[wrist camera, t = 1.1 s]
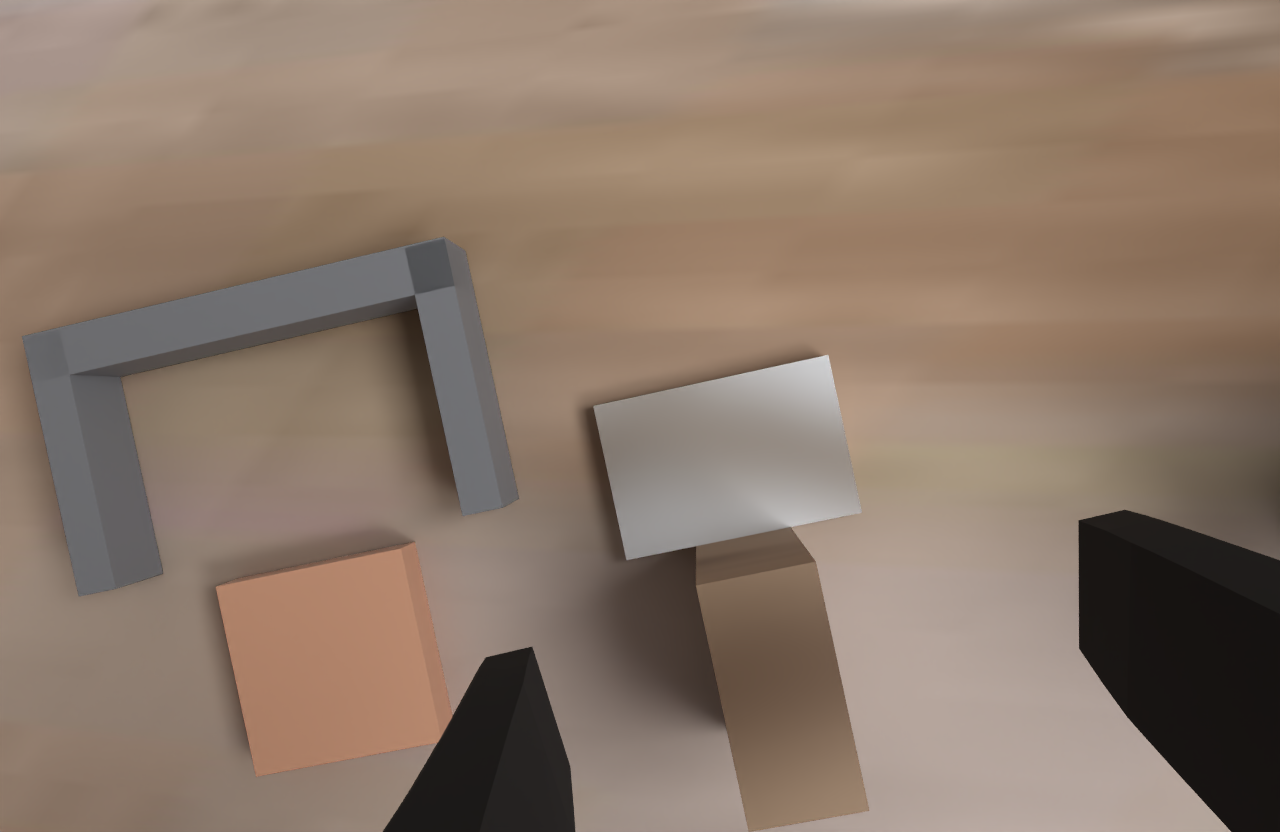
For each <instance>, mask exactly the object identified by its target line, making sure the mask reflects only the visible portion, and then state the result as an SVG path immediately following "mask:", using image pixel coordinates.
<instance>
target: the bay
mask: <svg viewBox="0 0 1280 832" xmlns="http://www.w3.org/2000/svg"><path fill="white" fill-rule="evenodd" d="M414 309H418V312H419V317H420V321H421V326H422V330H423V335H424V340H425V344H426V349H427V353H428V358H429V363H430V367H431V372H432V377H433V381H434V386H435V390H436V395H437V400H438V404H439V409H440V414H441V418H442V423H443V427H444V432H445V437H446V441H447V446H448V451H449V455H450V460H451V464H452V469H453V474H454V478H455V483H456V487H457V492H458V497H459V501H460V506H461V511H462V515H463V516H465V515H470V514H475V513H480V512H484V511H489V510H494V509H499V508H503V507H505V506H507V505H508V504H510V503H512V502H514V501H516V500H518V499H519V497H518V492H517V487H516V483H515V478H514V473H513V469H512V464H511V460H510V455H509V450H508V446H507V441H506V436H505V432H504V427H503V423H502V418H501V413H500V409H499V404H498V399H497V395H496V390H495V386H494V381H493V376H492V372H491V367H490V362H489V358H488V353H487V349H486V344H485V339H484V335H483V330H482V325H481V321H480V316H479V312H478V307H477V302H476V298H475V293H474V288H473V284H472V279H471V275H470V270H469V265H468V261H467V256H466V251H465V250H464V249H462V248H461V247H459V246H457V245H456V244H454V243H453V242H451V241H450V240H448V239H447V238H445V237H441V238H437V239H433V240H428V241H424V242H420V243H416V244H411V245H407V246H403V247H399V248H394V249H390V250H386V251H382V252H377V253H373V254H369V255H365V256H360V257H356V258H352V259H348V260H343V261H339V262H335V263H331V264H327V265H322V266H318V267H314V268H310V269H305V270H301V271H297V272H293V273H288V274H284V275H280V276H276V277H271V278H267V279H263V280H259V281H254V282H250V283H246V284H242V285H237V286H233V287H229V288H225V289H221V290H216V291H212V292H208V293H204V294H199V295H195V296H191V297H187V298H182V299H178V300H174V301H170V302H165V303H161V304H157V305H153V306H148V307H144V308H140V309H136V310H131V311H127V312H123V313H119V314H115V315H110V316H106V317H102V318H98V319H93V320H89V321H85V322H81V323H76V324H72V325H68V326H64V327H59V328H55V329H51V330H47V331H42V332H38V333H34V334H30V335H25V336H22V338H23V343H24V348H25V352H26V357H27V361H28V366H29V371H30V375H31V380H32V384H33V389H34V394H35V398H36V403H37V407H38V412H39V416H40V421H41V426H42V430H43V435H44V439H45V444H46V449H47V453H48V458H49V462H50V467H51V472H52V476H53V481H54V485H55V490H56V494H57V499H58V504H59V508H60V513H61V517H62V522H63V527H64V531H65V536H66V540H67V545H68V550H69V554H70V559H71V563H72V568H73V572H74V577H75V582H76V586H77V591H78V595H79V596H84V595H88V594H93V593H98V592H103V591H108V590H112V589H117V588H120V587H123V586H126V585H129V584H132V583H135V582H138V581H141V580H145V579H148V578H151V577H154V576H157V575H160V574H163V571H162V566H161V562H160V557H159V552H158V548H157V543H156V539H155V534H154V529H153V525H152V520H151V516H150V511H149V506H148V502H147V497H146V493H145V488H144V483H143V479H142V474H141V470H140V465H139V460H138V456H137V451H136V447H135V442H134V437H133V433H132V428H131V424H130V419H129V415H128V410H127V405H126V401H125V396H124V392H123V387H122V382H121V378H120V377H122V376H126V375H131V374H135V373H139V372H144V371H148V370H152V369H157V368H161V367H166V366H170V365H174V364H179V363H183V362H187V361H192V360H196V359H200V358H205V357H209V356H213V355H218V354H222V353H226V352H231V351H235V350H240V349H244V348H248V347H253V346H257V345H261V344H266V343H270V342H274V341H279V340H283V339H287V338H292V337H296V336H300V335H305V334H309V333H314V332H318V331H322V330H327V329H331V328H335V327H340V326H344V325H348V324H353V323H357V322H361V321H366V320H370V319H374V318H379V317H383V316H387V315H392V314H396V313H401V312H405V311H409V310H414Z"/></svg>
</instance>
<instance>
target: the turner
mask: <svg viewBox="0 0 1280 832" xmlns="http://www.w3.org/2000/svg"><path fill="white" fill-rule="evenodd" d="M593 407H594V412H595V416H596V421H597V426H598V430H599V435H600V440H601V444H602V449H603V454H604V458H605V463H606V467H607V472H608V477H609V481H610V486H611V491H612V495H613V500H614V505H615V509H616V514H617V518H618V523H619V528H620V532H621V537H622V542H623V546H624V551H625V556H626V560H630V559H635V558H640V557H645V556H650V555H655V554H660V553H665V552H670V551H675V550H680V549H685V548H690V547H695V546H696V589H697V594H698V598H699V603H700V608H701V612H702V617H703V622H704V626H705V631H706V636H707V640H708V645H709V649H710V654H711V659H712V663H713V668H714V673H715V677H716V682H717V687H718V691H719V696H720V700H721V705H722V710H723V714H724V719H725V724H726V728H727V733H728V738H729V742H730V747H731V752H732V756H733V761H734V765H735V770H736V775H737V779H738V784H739V789H740V793H741V798H742V803H743V807H744V812H745V816H746V821H747V826H748V830H749V832H751V831H757V830H763V829H768V828H774V827H780V826H785V825H791V824H797V823H803V822H808V821H814V820H820V819H825V818H831V817H837V816H842V815H848V814H854V813H859V812H865V811H869V807H868V802H867V798H866V793H865V788H864V784H863V779H862V774H861V770H860V765H859V760H858V756H857V751H856V746H855V742H854V737H853V733H852V728H851V723H850V719H849V714H848V709H847V705H846V700H845V695H844V691H843V686H842V681H841V677H840V672H839V667H838V663H837V658H836V653H835V649H834V644H833V640H832V635H831V630H830V626H829V621H828V616H827V612H826V607H825V602H824V598H823V593H822V588H821V584H820V579H819V574H818V570H817V565H816V561H815V560H814V559H813V557H812V556H811V555H810V553H809V552H808V550H807V549H806V548H805V546H804V545H803V544H802V542H801V541H800V540H799V538H798V537H797V536H796V534H795V533H794V531H793V530H792V529H791V527H793V526H798V525H803V524H808V523H813V522H818V521H823V520H828V519H833V518H838V517H843V516H848V515H853V514H858V513H862V510H861V506H860V501H859V496H858V492H857V487H856V482H855V478H854V473H853V468H852V464H851V459H850V454H849V450H848V445H847V440H846V436H845V431H844V426H843V422H842V417H841V412H840V408H839V403H838V399H837V394H836V389H835V385H834V380H833V375H832V371H831V366H830V361H829V357H828V355H826V356H821V357H816V358H812V359H807V360H803V361H798V362H793V363H789V364H784V365H780V366H775V367H770V368H766V369H761V370H757V371H752V372H747V373H743V374H738V375H734V376H729V377H724V378H720V379H715V380H711V381H706V382H701V383H697V384H692V385H688V386H683V387H678V388H674V389H669V390H665V391H660V392H655V393H651V394H646V395H642V396H637V397H632V398H628V399H623V400H619V401H614V402H609V403H605V404H600V405H596V406H593Z"/></svg>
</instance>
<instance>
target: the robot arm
mask: <svg viewBox="0 0 1280 832" xmlns="http://www.w3.org/2000/svg"><path fill="white" fill-rule="evenodd" d="M1079 649H1080V650H1081V652H1082V653H1083V655H1084V656H1085V658H1086V659H1087V661H1088V662H1089V664H1090V665H1091V667H1092V668H1093V669H1094V671H1095V672H1096V674H1097V675H1098V677H1099V678H1100V680H1101V681H1102V683H1103V684H1104V686H1105V687H1106V688H1107V690H1108V691H1109V693H1110V694H1111V695H1112V697H1113V698H1114V699H1115V701H1116V702H1117V704H1118V705H1119V706H1120V708H1121V709H1122V710H1123V712H1124V713H1125V714H1126V716H1127V717H1128V718H1129V719H1130V721H1131V722H1132V723H1133V724H1134V725H1135V726H1136V727H1137V728H1138V730H1139V731H1140V732H1141V733H1142V734H1143V735H1144V736H1145V737H1146V739H1147V740H1148V741H1149V742H1150V743H1151V744H1152V745H1153V746H1154V747H1155V749H1156V750H1157V751H1158V752H1159V753H1160V754H1161V755H1162V756H1163V757H1164V759H1165V760H1166V761H1167V762H1168V763H1169V764H1170V765H1171V766H1172V767H1173V769H1174V770H1175V771H1176V772H1177V773H1178V774H1179V775H1180V776H1181V777H1182V778H1183V780H1184V781H1185V782H1186V783H1187V784H1188V785H1189V786H1190V787H1191V788H1192V789H1193V790H1194V791H1195V793H1196V794H1197V795H1198V796H1199V797H1200V798H1201V799H1202V800H1203V801H1204V802H1205V803H1206V805H1207V806H1208V807H1209V808H1210V809H1211V810H1212V811H1213V812H1214V813H1215V814H1216V815H1217V817H1218V818H1219V819H1220V820H1221V821H1222V822H1223V823H1224V824H1225V825H1226V826H1227V827H1228V829H1229V830H1230V831H1231V832H1280V560H1277V559H1274V558H1271V557H1268V556H1265V555H1262V554H1259V553H1256V552H1254V551H1251V550H1248V549H1245V548H1242V547H1239V546H1236V545H1233V544H1230V543H1227V542H1225V541H1222V540H1219V539H1216V538H1213V537H1210V536H1207V535H1204V534H1201V533H1198V532H1195V531H1192V530H1189V529H1186V528H1183V527H1180V526H1177V525H1174V524H1171V523H1168V522H1165V521H1162V520H1159V519H1156V518H1152V517H1149V516H1146V515H1142V514H1138V513H1135V512H1131V511H1127V510H1122V511H1118V512H1114V513H1109V514H1105V515H1101V516H1096V517H1092V518H1088V519H1083V520H1079ZM383 832H575V820H574V806H573V794H572V783H571V771H570V765H569V761H568V758H567V755H566V752H565V749H564V746H563V742H562V739H561V736H560V733H559V730H558V727H557V723H556V720H555V717H554V714H553V711H552V708H551V704H550V701H549V698H548V695H547V692H546V689H545V686H544V682H543V679H542V676H541V673H540V670H539V667H538V663H537V660H536V657H535V654H534V651H533V648H532V647H529V648H525V649H520V650H516V651H512V652H507V653H503V654H499V655H494V656H490V657H486V658H485V660H484V661H483V663H482V664H481V666H480V667H479V669H478V671H477V672H476V674H475V676H474V678H473V680H472V682H471V683H470V685H469V687H468V689H467V691H466V693H465V695H464V696H463V698H462V700H461V702H460V704H459V706H458V707H457V709H456V711H455V713H454V715H453V717H452V718H451V720H450V722H449V724H448V726H447V727H446V729H445V731H444V733H443V734H442V736H441V738H440V740H439V742H438V743H437V745H436V747H435V748H434V750H433V752H432V753H431V755H430V757H429V759H428V760H427V762H426V764H425V765H424V767H423V769H422V770H421V772H420V774H419V775H418V777H417V779H416V780H415V782H414V784H413V786H412V787H411V789H410V790H409V792H408V794H407V795H406V797H405V799H404V800H403V802H402V803H401V805H400V806H399V808H398V809H397V811H396V812H395V814H394V815H393V817H392V818H391V820H390V822H389V823H388V825H387V826H386V828H385V829H384V831H383Z"/></svg>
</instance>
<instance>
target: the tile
mask: <svg viewBox="0 0 1280 832" xmlns="http://www.w3.org/2000/svg"><path fill="white" fill-rule="evenodd" d="M216 591H217V596H218V600H219V605H220V610H221V614H222V619H223V624H224V628H225V633H226V638H227V642H228V647H229V652H230V657H231V661H232V666H233V671H234V675H235V680H236V685H237V689H238V694H239V699H240V704H241V708H242V713H243V718H244V722H245V727H246V732H247V736H248V741H249V746H250V751H251V755H252V760H253V765H254V769H255V774H256V777H257V776H263V775H268V774H273V773H279V772H284V771H289V770H295V769H300V768H305V767H311V766H316V765H321V764H327V763H332V762H337V761H343V760H348V759H353V758H359V757H364V756H369V755H375V754H380V753H385V752H391V751H396V750H401V749H407V748H412V747H417V746H423V745H428V744H434V743H438V742H439V740H440V738H441V736H442V734H443V733H444V731H445V729H446V727H447V726H448V724H449V722H450V720H451V718H452V717H453V716H452V712H451V707H450V703H449V698H448V693H447V689H446V684H445V679H444V675H443V670H442V665H441V661H440V656H439V651H438V647H437V642H436V637H435V633H434V628H433V624H432V619H431V614H430V610H429V605H428V600H427V596H426V591H425V586H424V582H423V577H422V572H421V568H420V563H419V559H418V554H417V549H416V545H415V542H411V543H406V544H401V545H397V546H392V547H387V548H382V549H377V550H372V551H367V552H363V553H358V554H353V555H348V556H343V557H338V558H334V559H329V560H324V561H319V562H314V563H309V564H305V565H300V566H295V567H290V568H285V569H280V570H276V571H271V572H266V573H261V574H256V575H251V576H247V577H242V578H237V579H235V580H232V581H229V582H227V583H224V584H221V585H219V586H216Z"/></svg>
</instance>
